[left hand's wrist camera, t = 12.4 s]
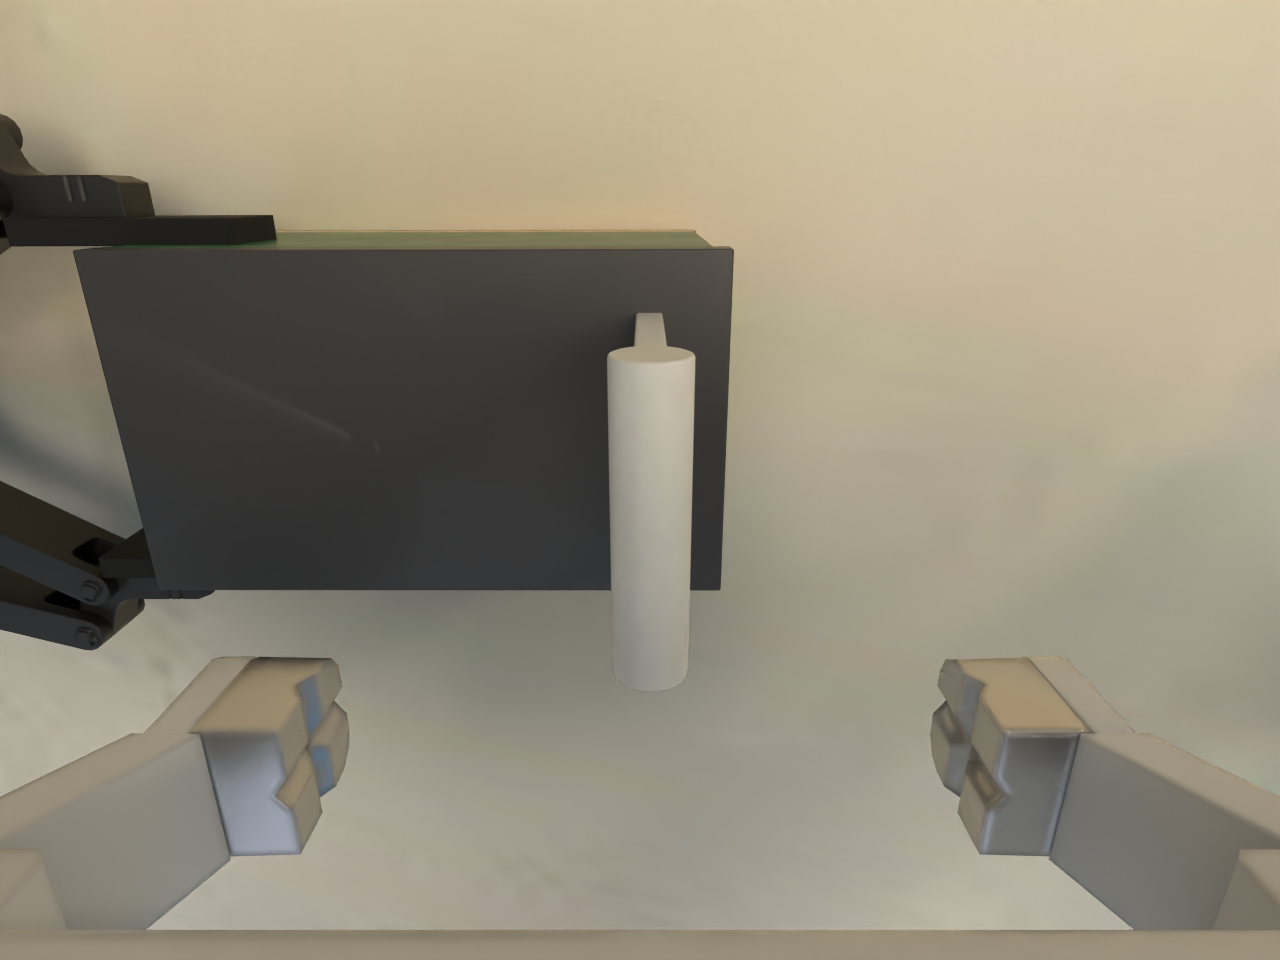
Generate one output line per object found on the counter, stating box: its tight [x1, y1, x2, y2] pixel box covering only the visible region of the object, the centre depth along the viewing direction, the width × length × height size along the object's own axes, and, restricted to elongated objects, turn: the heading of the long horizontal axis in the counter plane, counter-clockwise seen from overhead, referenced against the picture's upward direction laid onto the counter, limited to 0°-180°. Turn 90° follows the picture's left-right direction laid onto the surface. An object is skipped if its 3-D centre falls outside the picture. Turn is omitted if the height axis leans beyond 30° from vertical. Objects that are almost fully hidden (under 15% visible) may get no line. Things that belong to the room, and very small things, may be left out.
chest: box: [102, 230, 712, 248], centre depth 27 cm, size 17×10×9 cm, turn 90°
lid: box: [73, 246, 734, 692], centre depth 19 cm, size 17×10×8 cm, turn 90°
